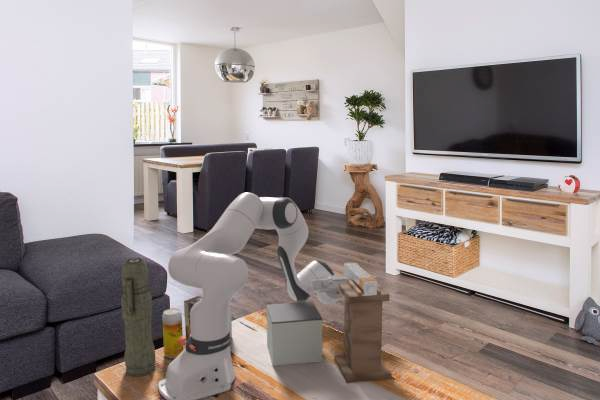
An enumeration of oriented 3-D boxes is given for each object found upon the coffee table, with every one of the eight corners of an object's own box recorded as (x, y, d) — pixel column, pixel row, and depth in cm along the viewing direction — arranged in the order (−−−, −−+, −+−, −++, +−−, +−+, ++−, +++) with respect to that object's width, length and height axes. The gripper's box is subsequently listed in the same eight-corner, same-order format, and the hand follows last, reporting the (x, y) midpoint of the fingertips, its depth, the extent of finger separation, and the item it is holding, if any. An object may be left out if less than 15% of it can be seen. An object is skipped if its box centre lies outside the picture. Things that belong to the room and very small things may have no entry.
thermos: (159, 359, 153) (153, 254, 147) (151, 378, 141) (144, 265, 136) (131, 360, 152) (124, 255, 147) (120, 379, 140) (113, 266, 135)
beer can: (178, 359, 152) (176, 315, 150) (161, 358, 153) (158, 314, 151) (186, 351, 158) (184, 308, 156) (169, 349, 159) (167, 307, 157)
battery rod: (343, 274, 155) (343, 262, 155) (355, 274, 156) (355, 262, 155) (364, 297, 135) (364, 283, 134) (378, 295, 136) (378, 282, 135)
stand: (334, 360, 152) (334, 278, 147) (375, 356, 154) (377, 276, 150) (346, 383, 138) (347, 294, 134) (391, 378, 141) (394, 291, 136)
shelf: (267, 344, 163) (266, 304, 160) (312, 340, 165) (312, 301, 163) (272, 366, 148) (272, 322, 146) (322, 361, 151) (322, 318, 149)
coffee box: (216, 346, 162) (215, 301, 159) (201, 352, 157) (200, 306, 154) (200, 338, 167) (198, 295, 165) (185, 344, 163) (183, 300, 160)
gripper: (306, 281, 175) (313, 273, 163) (359, 277, 179) (370, 269, 166) (308, 298, 173) (315, 291, 160) (361, 294, 177) (372, 287, 164)
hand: (343, 280), depth 163 cm, fingers open, 8 cm apart
